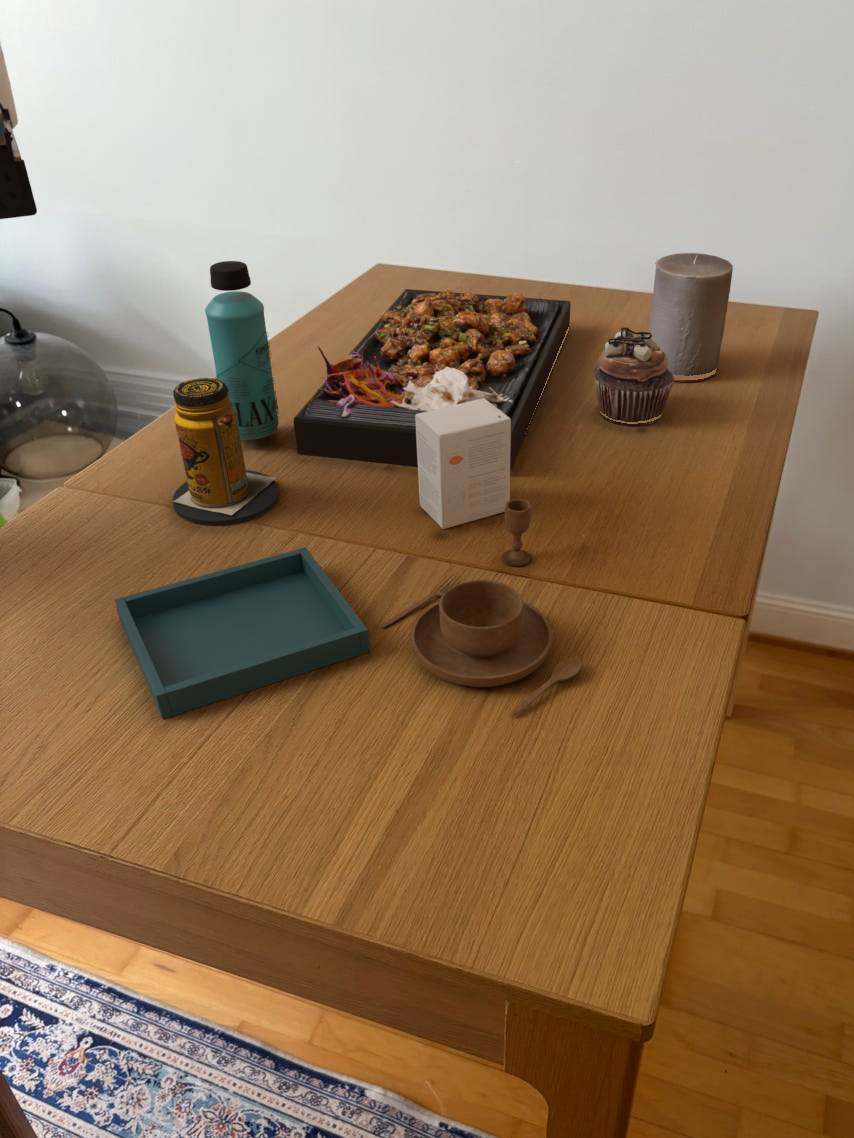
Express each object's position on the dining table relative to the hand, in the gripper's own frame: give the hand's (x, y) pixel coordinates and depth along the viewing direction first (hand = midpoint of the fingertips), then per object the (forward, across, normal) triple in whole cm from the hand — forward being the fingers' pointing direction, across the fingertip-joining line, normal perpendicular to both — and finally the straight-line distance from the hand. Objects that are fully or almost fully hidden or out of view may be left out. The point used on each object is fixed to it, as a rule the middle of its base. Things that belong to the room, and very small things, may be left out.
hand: (7, 202), depth 82 cm
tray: (+30, +27, +7) cm, 41 cm away
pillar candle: (+31, -2, +77) cm, 83 cm away
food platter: (+31, -12, +47) cm, 58 cm away
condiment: (+30, +3, +13) cm, 33 cm away
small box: (+31, +17, +34) cm, 49 cm away
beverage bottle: (+31, -9, +20) cm, 38 cm away
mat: (+30, +3, +13) cm, 33 cm away
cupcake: (+31, +6, +63) cm, 70 cm away
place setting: (+31, +37, +28) cm, 56 cm away
